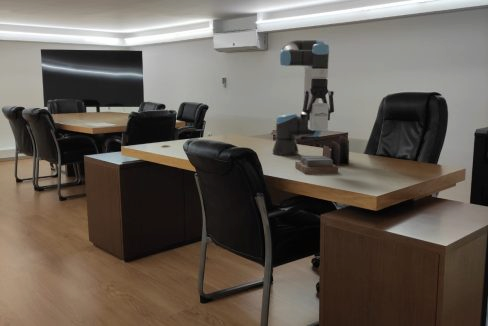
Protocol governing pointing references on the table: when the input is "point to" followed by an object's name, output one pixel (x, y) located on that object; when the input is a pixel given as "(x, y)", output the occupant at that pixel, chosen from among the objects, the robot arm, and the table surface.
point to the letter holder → (338, 152)
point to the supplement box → (319, 116)
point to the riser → (316, 165)
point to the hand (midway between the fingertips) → (317, 127)
